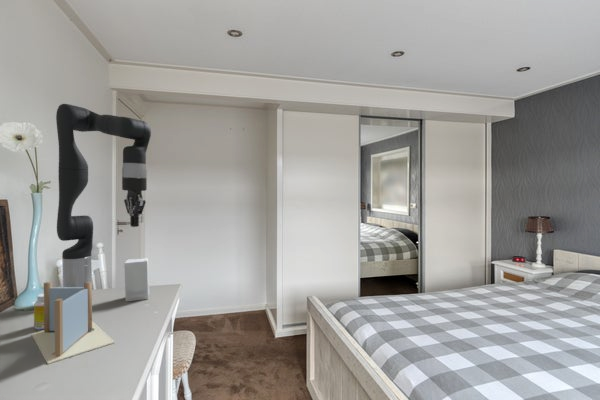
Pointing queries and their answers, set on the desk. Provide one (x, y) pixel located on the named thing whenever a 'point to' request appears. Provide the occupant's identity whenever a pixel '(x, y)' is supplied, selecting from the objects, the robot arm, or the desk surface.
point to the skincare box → (136, 279)
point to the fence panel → (70, 320)
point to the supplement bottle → (39, 312)
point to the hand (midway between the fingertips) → (134, 226)
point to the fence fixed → (63, 293)
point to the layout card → (82, 345)
